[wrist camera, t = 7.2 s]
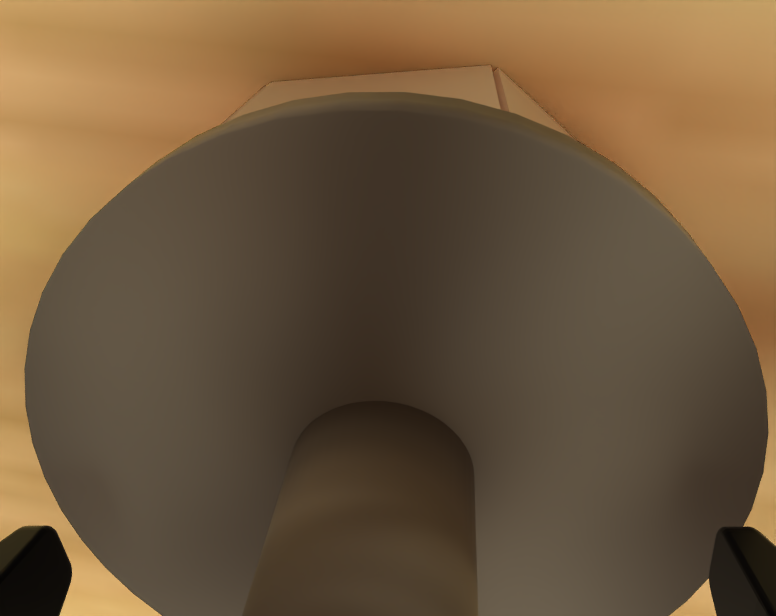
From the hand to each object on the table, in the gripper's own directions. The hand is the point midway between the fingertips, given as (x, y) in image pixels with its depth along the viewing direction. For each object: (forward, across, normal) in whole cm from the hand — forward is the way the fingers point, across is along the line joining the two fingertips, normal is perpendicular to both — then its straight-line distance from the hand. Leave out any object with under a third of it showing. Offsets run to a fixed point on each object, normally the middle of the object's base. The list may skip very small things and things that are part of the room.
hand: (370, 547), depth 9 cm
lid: (+2, 0, 0) cm, 2 cm away
